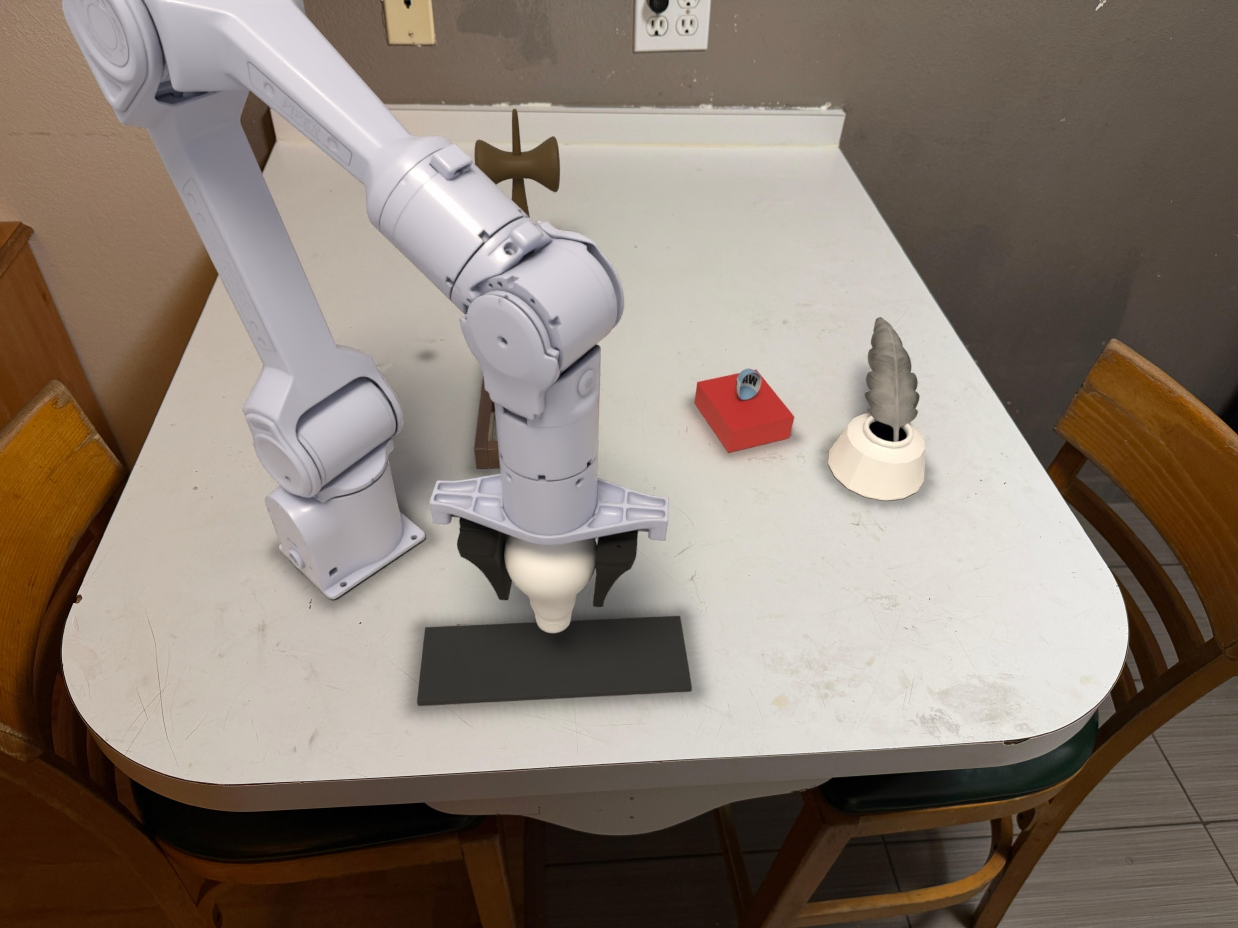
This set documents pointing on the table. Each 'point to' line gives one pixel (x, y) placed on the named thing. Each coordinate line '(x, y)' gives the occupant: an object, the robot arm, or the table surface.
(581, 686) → the mat
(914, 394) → the inkwell
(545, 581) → the lightbulb
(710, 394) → the red slab
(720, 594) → the table surface
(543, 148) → the kendama
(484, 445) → the holder
